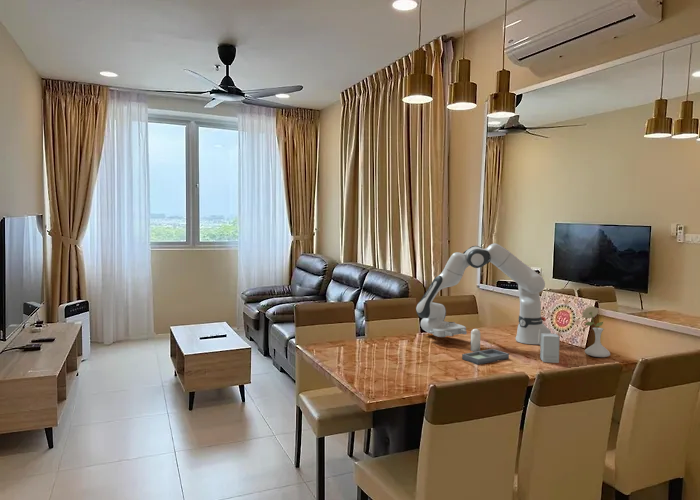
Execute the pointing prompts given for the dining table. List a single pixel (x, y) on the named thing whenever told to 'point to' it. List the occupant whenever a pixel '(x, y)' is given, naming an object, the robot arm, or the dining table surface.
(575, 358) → the dining table surface
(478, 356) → the caddy
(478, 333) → the white round-topped cylinder
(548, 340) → the supplement box
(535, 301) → the robot arm
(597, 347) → the flower in vase
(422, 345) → the dining table surface
